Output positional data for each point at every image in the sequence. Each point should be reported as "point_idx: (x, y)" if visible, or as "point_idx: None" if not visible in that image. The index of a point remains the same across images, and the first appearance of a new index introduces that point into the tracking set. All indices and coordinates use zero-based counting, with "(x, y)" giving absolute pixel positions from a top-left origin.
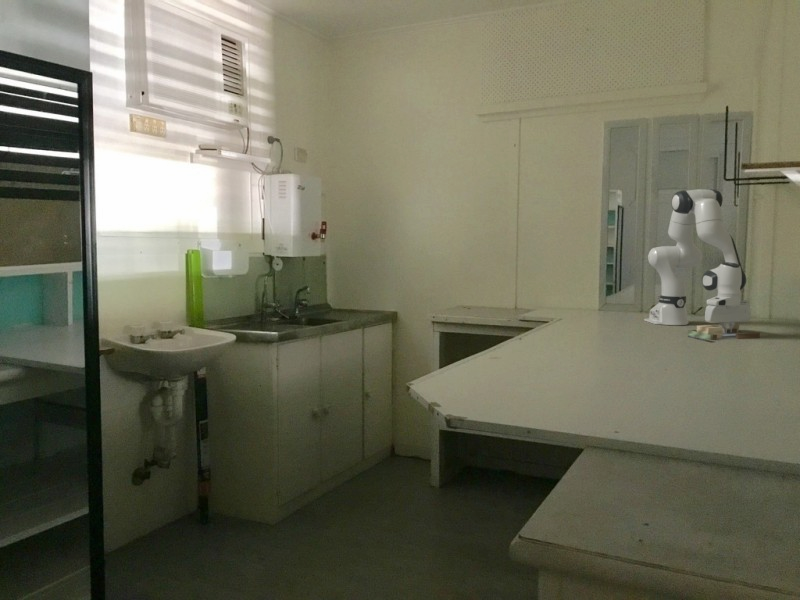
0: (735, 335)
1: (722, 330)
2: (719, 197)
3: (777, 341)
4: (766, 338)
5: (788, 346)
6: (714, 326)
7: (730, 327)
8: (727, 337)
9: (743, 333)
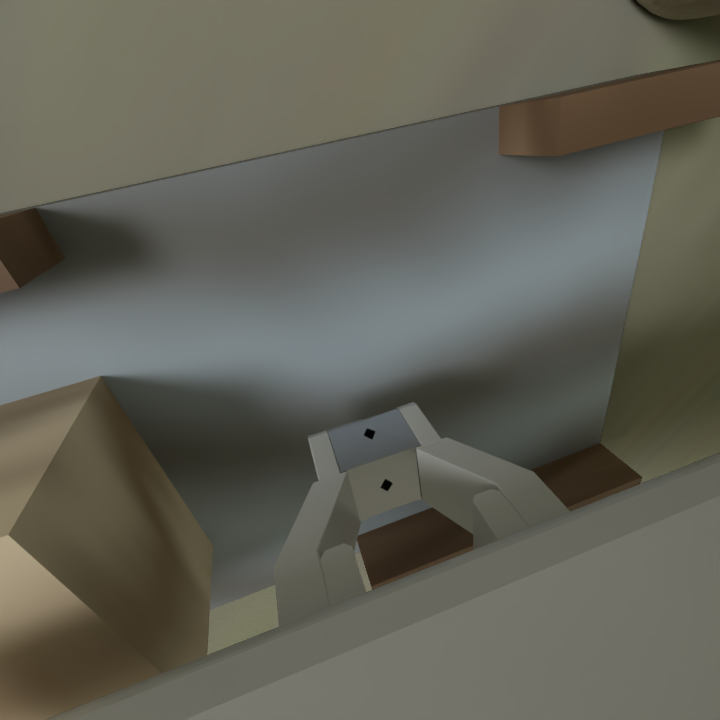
0: (485, 349)
1: (205, 652)
2: None
3: (642, 477)
4: (706, 351)
5: None
6: (64, 677)
7: (438, 500)
8: (296, 504)
9: (464, 553)
